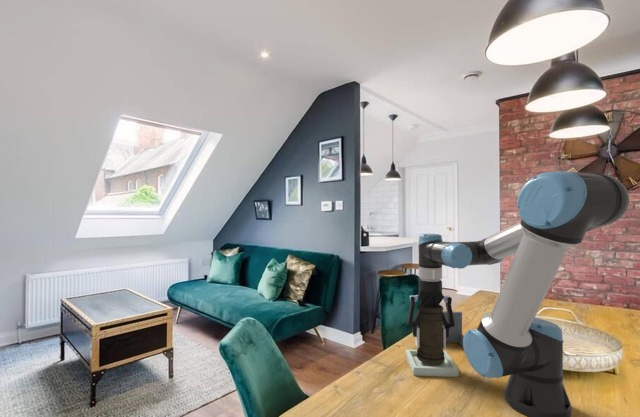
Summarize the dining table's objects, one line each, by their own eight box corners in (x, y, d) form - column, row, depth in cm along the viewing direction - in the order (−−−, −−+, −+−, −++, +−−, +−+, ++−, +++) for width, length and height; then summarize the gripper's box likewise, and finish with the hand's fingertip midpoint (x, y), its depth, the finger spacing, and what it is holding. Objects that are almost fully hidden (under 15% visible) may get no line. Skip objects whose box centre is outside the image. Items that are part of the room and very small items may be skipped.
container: (446, 366, 108) (446, 310, 108) (418, 363, 110) (417, 308, 110) (442, 354, 117) (442, 302, 117) (415, 352, 119) (415, 301, 119)
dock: (475, 357, 120) (475, 324, 120) (431, 356, 121) (431, 322, 121) (461, 341, 135) (460, 311, 135) (422, 340, 136) (422, 310, 136)
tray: (458, 377, 106) (458, 369, 106) (413, 375, 107) (413, 367, 107) (445, 357, 120) (445, 350, 120) (405, 356, 121) (405, 349, 121)
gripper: (458, 277, 116) (458, 343, 116) (397, 276, 118) (397, 341, 118) (465, 282, 109) (466, 352, 109) (401, 281, 111) (401, 350, 110)
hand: (430, 346), depth 113 cm, fingers closed on container, 8 cm apart
